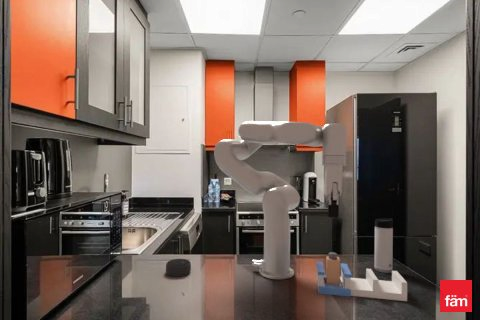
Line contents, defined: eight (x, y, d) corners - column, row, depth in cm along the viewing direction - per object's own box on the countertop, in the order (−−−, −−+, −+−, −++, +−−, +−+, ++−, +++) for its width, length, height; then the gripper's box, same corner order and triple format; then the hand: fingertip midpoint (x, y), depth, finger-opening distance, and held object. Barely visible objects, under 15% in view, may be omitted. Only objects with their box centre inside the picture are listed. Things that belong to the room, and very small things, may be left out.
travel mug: (395, 273, 111) (396, 220, 111) (376, 272, 112) (377, 219, 113) (390, 268, 117) (391, 217, 118) (372, 266, 119) (373, 216, 119)
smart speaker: (173, 267, 114) (173, 257, 114) (194, 270, 112) (194, 259, 112) (161, 275, 106) (161, 264, 106) (183, 278, 103) (184, 267, 103)
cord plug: (326, 287, 96) (326, 254, 96) (325, 282, 100) (326, 251, 100) (339, 289, 95) (339, 255, 95) (338, 284, 99) (338, 252, 99)
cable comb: (317, 293, 93) (318, 272, 93) (316, 280, 104) (316, 261, 104) (408, 302, 88) (408, 280, 88) (396, 287, 98) (396, 267, 99)
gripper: (321, 161, 107) (320, 212, 106) (323, 160, 92) (322, 220, 92) (343, 161, 105) (342, 214, 105) (349, 161, 90) (348, 221, 90)
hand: (333, 216), depth 98 cm, fingers closed
